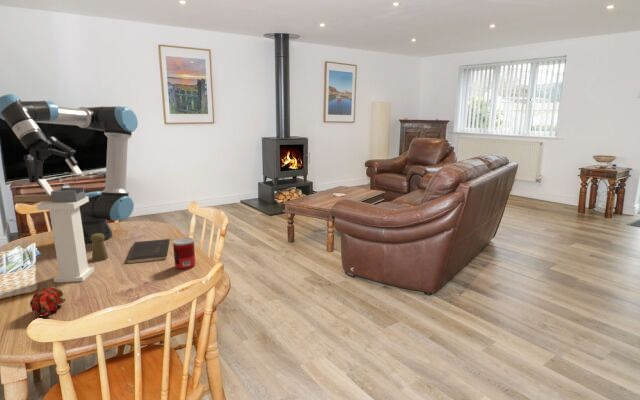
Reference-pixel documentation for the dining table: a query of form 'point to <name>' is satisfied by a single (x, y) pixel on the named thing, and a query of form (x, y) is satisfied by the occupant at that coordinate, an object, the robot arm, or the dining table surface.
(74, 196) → the brown and grey bar
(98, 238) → the cork
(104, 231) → the robot arm
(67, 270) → the stand
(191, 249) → the canned food
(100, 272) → the dining table surface
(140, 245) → the hardcover book
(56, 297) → the dragon fruit
